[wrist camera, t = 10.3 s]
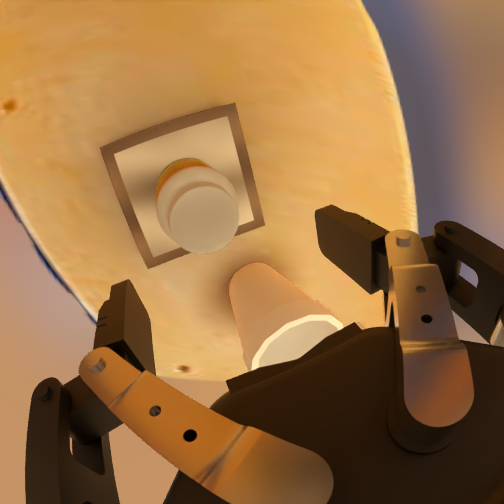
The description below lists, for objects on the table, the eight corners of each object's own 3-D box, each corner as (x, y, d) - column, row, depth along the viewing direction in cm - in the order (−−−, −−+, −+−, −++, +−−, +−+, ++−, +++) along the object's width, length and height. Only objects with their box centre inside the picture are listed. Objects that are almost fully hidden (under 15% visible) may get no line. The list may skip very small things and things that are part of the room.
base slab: (107, 145, 24) (99, 148, 20) (224, 105, 26) (235, 102, 22) (147, 251, 30) (147, 270, 26) (251, 213, 32) (266, 226, 28)
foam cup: (283, 311, 39) (331, 377, 28) (216, 321, 36) (248, 400, 25) (291, 247, 35) (354, 304, 24) (216, 253, 32) (255, 324, 21)
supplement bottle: (228, 176, 25) (269, 204, 17) (196, 227, 26) (220, 279, 18) (176, 145, 22) (190, 155, 14) (143, 199, 23) (140, 242, 15)
